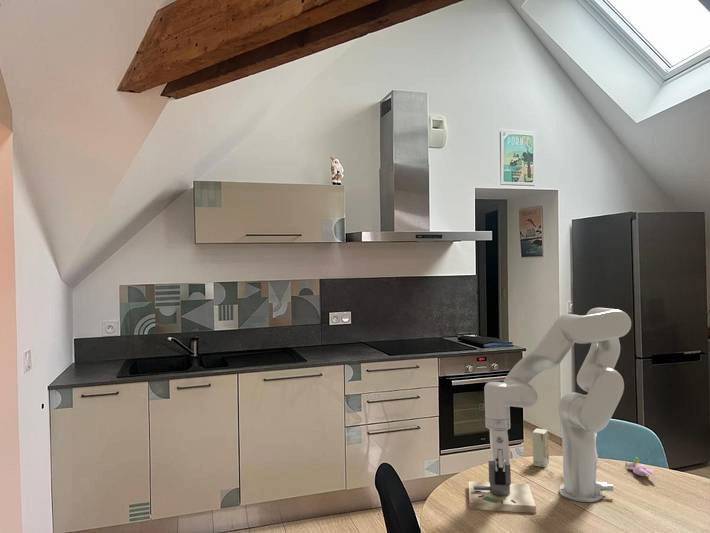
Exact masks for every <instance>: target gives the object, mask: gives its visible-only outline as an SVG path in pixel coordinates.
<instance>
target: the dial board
mask: <svg viewBox="0 0 710 533" xmlns="http://www.w3.org/2000/svg"><path fill="white" fill-rule="evenodd" d="M474 486H490V483H489V481H473V480H471V481H468V496H469V498H468V499H469V501H468V502H469V510H477V511H478V510H482V511H483V510H484V511H496V512H497V511H498V512H512V513H513V512H514V513H515V512H516V513H531V514H532V513H533V514H536V513H537V505H536V502H535V500H534V497H533V494H532V493H533V492H532V491H531V488H530V484H528V483H512V482H511V485H510V494H509V495H507V496H497V495H494V494H492V493H491V492H490V491H488V490H474Z"/></svg>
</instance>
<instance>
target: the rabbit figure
mask: <svg viewBox="0 0 710 533" xmlns="http://www.w3.org/2000/svg"><path fill="white" fill-rule="evenodd" d="M640 461H641V460H640V459H639V457H637V456H635V459H634V460H633V461H632V462H629V463H628V462H625V464H624V467H626V469H628V470H629V471H632V472H633V473H634V474H635V475H637V476H639V477H647V476H648V477H651V475H652V476H653V477H654V476H655V475H656V474H655V471H654V470H653V469H650V468H648V467H647V466H646V465H644V464H639V463H640Z"/></svg>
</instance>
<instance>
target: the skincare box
mask: <svg viewBox="0 0 710 533" xmlns="http://www.w3.org/2000/svg"><path fill="white" fill-rule="evenodd" d="M531 433H532V457H533V458H532V460H533V461H532V462H533V464H532V465H533V466H535V467H541V468H547V466H548V464H549V463H550V458H549V455H550V454H549V433H548V429H543V428H535V429H534V430H533V431H532V432H531Z"/></svg>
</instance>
